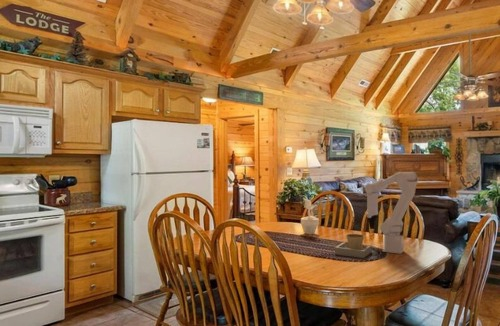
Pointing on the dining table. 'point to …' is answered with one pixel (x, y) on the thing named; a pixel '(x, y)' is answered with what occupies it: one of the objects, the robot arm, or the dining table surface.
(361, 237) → the flower pot
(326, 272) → the dining table surface
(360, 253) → the pot holder
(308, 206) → the potted plant
